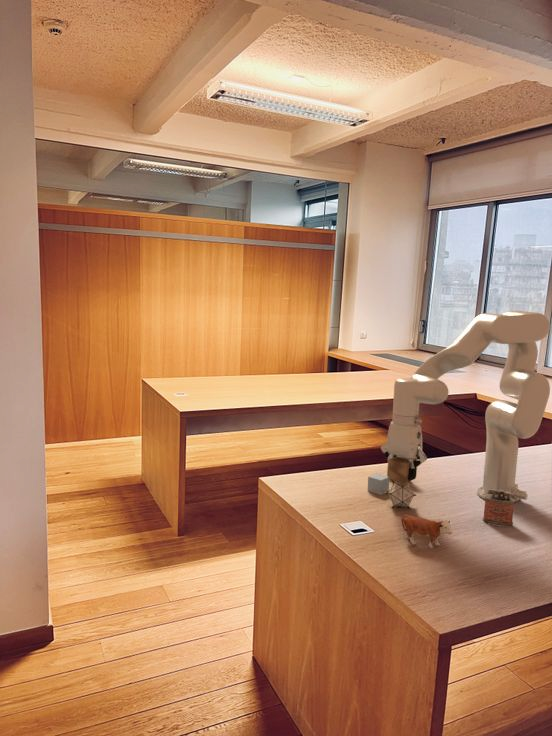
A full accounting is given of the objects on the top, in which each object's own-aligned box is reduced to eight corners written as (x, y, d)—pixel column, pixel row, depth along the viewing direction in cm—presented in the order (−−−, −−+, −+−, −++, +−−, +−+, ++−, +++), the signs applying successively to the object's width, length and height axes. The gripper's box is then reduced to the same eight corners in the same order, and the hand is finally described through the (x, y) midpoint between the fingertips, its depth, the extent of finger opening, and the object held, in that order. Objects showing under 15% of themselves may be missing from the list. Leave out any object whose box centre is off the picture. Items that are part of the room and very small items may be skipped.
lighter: (512, 522, 159) (515, 489, 157) (513, 527, 156) (516, 494, 154) (482, 518, 162) (485, 486, 160) (482, 523, 158) (485, 490, 157)
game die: (403, 516, 171) (420, 488, 173) (407, 517, 163) (424, 489, 164) (378, 499, 173) (395, 472, 174) (381, 500, 165) (399, 471, 166)
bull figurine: (449, 555, 140) (451, 525, 138) (398, 541, 147) (400, 512, 145) (454, 548, 143) (456, 519, 142) (404, 535, 150) (405, 507, 149)
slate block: (388, 491, 182) (389, 476, 181) (380, 495, 178) (381, 480, 177) (376, 487, 185) (376, 472, 184) (367, 491, 182) (368, 476, 181)
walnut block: (415, 478, 168) (416, 459, 167) (405, 483, 164) (406, 464, 163) (398, 473, 172) (399, 455, 171) (388, 478, 168) (389, 459, 167)
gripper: (437, 422, 162) (433, 481, 165) (387, 412, 173) (384, 467, 176) (425, 427, 156) (421, 487, 159) (373, 416, 168) (371, 472, 171)
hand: (402, 476), depth 168 cm, fingers closed on walnut block, 6 cm apart
